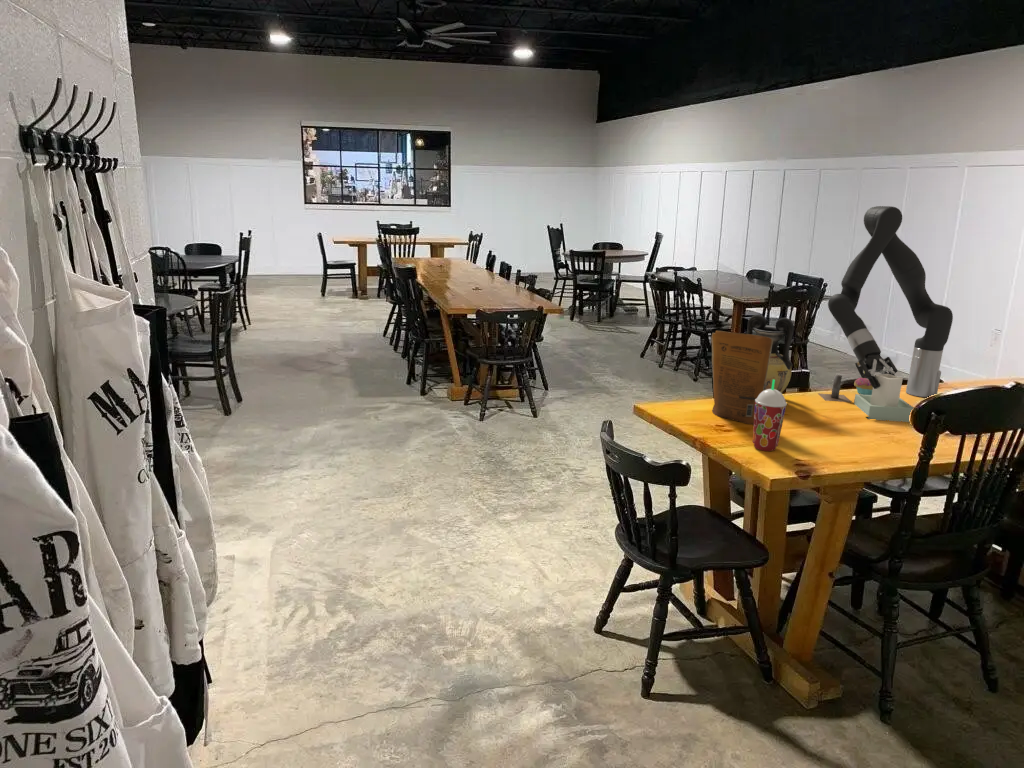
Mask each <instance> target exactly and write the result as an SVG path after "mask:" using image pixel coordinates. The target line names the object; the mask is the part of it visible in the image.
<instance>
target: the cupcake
mask: <svg viewBox="0 0 1024 768" xmlns="http://www.w3.org/2000/svg"><path fill="white" fill-rule="evenodd" d="M863 373H865V372H864V371H863ZM853 385H854V387H856V390H857V394H861V395H872V389H873V386H872V385H871V383H870V381H869V380H868V379H867V378H862V377H861V376H860V377H858V378H857V379H855V380H854V383H853Z"/></svg>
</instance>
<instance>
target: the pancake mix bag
mask: <svg viewBox="0 0 1024 768" xmlns="http://www.w3.org/2000/svg"><path fill="white" fill-rule="evenodd" d="M710 337H711V338H710V342H711V364H712V366H711V367H712V369H711V371H712V381H713V382H712V385H713V386H712V388H713V389H712V392H713V403H714V404H713V407H712V410H711V412H712V414H714V415H715V416H716V415H717V416H716V417H721V418H725V419H727V420H732V421H735V422H736V421H737V422H739V423H743V424H747V425H754V412H755V399H756V398H757V397H758V395H759V394H760V393H761V392H762V391H763V389H764V384H765V381H766V376H767V371H768V365H769V359H770V355H771V349H772V344H773V339H771V338H769V337H765V336H759V335H756V334H753V335H752V334H747V333H741V332H740V333H739V332H730V331H725V330H724V331H723V330H715V332H712V333H711V336H710Z"/></svg>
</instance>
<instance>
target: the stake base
mask: <svg viewBox="0 0 1024 768" xmlns="http://www.w3.org/2000/svg"><path fill="white" fill-rule="evenodd" d="M842 378H843V375H842V374H841V375H840V374H834V377H833V381H832V382H833V383H832V389H831V393H820V392H819V393H817V394H818V395H819V396H820V397H821V398H822V400H824V401H826V402H827V401H828V402H844V403H853V401H852V400H851V399H849V398H848V397H847V396H846V395H844V394H840V391H841V383H842Z"/></svg>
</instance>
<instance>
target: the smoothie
mask: <svg viewBox="0 0 1024 768" xmlns="http://www.w3.org/2000/svg"><path fill="white" fill-rule="evenodd" d="M774 384H775V380H774V379H773V381H772V388H771V389H766V390H764V391H762V392H761V393H760V394H759V395H758V397H757V398H756V399H755V412H754V424H753V427H752V428H753V430H752V431H753V432H752V433H753V434H752V443H753V447H754V448H756V450H760V451H764V452H774V451H775V450H776V448H777V447H778V446H779V443H780V442H779V441H780V437H781V431H782V427H783V424H784V418H785V413H786V408H787V405H788V403H787V401H786V398H785V396H784V395H783V392H782V393H781V392H779V391H778V390H775V389H774Z"/></svg>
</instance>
